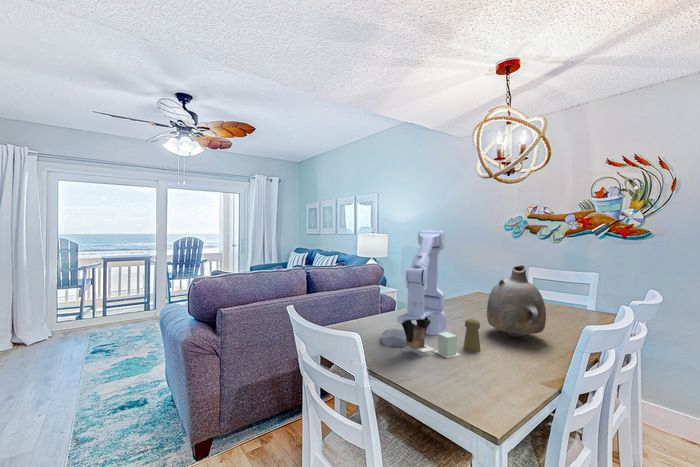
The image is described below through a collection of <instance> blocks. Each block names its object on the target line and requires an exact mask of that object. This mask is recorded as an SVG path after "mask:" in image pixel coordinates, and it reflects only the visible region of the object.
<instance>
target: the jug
mask: <svg viewBox="0 0 700 467" xmlns="http://www.w3.org/2000/svg"><path fill="white" fill-rule="evenodd" d="M526 268H527V267H526V266H525V265H524V264H521V265H517V266H516V265H515V266H513V267H512V269H511V271H512V272H511V274H510V277H509V278H506V279H503V278H501V279H500V280H498V282H497V283H496V284H495V285H494V286H493V287H492V289H491V291H490V293H489V296H488V300H487V305H486V318H487V322H488V324H489V325H490V326H491V327H493V328H494V329H497V330H500V331H503V332H505V333H507V334H508V335H510V336H512V337H514V338H518V337H522V336H525V335H526V336H527V335H535V334H540V333H542V332H543V331H544V330H545V328H546V321H547V310H546V305H545V301H544V298H543V295H542V294H541V292H540V290H539V289H538V288H537V287H536V286H535V285H534V284H532V283H530V282H529V281H528V279H527V273H526V270H527V269H526Z"/></svg>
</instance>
